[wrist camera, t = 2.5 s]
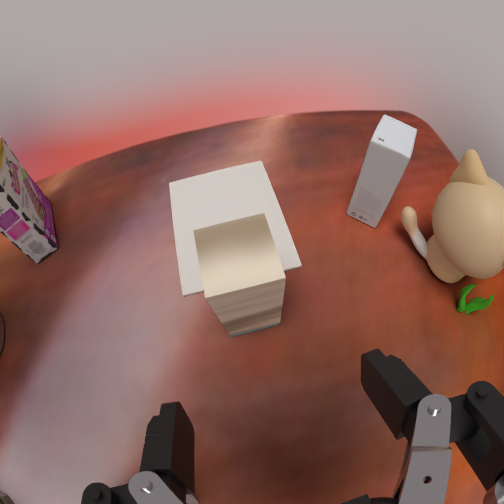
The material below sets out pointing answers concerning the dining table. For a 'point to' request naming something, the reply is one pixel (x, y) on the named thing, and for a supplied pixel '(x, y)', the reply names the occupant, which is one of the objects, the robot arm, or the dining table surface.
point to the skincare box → (381, 170)
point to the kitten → (464, 229)
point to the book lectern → (5, 499)
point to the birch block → (241, 274)
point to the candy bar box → (24, 209)
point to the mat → (224, 214)
